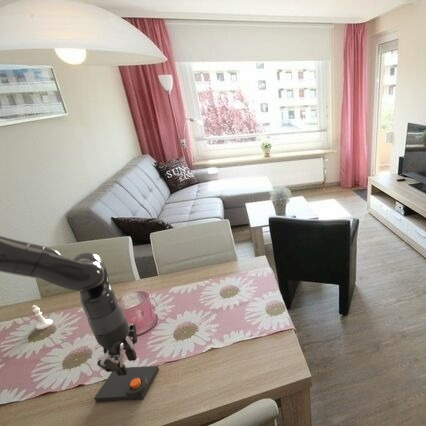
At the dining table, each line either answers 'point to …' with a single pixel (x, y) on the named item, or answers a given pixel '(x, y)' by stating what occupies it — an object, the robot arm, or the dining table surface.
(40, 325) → the chess piece
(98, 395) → the dark grey flat block
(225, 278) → the dining table surface
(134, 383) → the button
